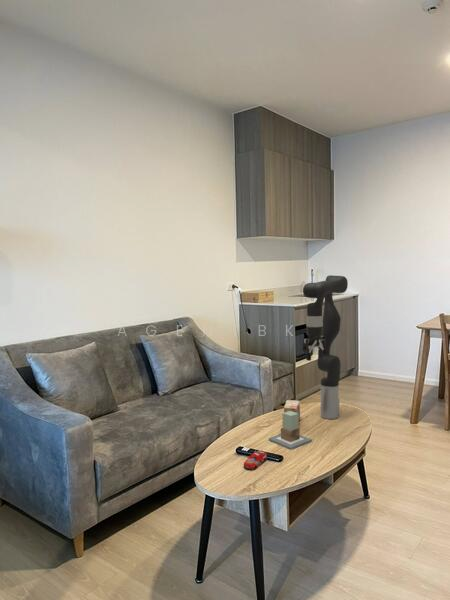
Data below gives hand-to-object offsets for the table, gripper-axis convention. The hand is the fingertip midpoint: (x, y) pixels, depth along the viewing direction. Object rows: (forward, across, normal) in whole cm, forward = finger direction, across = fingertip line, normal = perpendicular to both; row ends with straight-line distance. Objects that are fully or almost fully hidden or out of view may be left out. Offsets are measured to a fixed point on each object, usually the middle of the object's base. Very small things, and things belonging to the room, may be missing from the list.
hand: (314, 359), depth 207 cm
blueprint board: (+36, +16, -1) cm, 39 cm away
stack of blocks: (+36, 0, -15) cm, 39 cm away
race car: (+37, +44, +6) cm, 57 cm away
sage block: (+30, +16, -1) cm, 34 cm away
